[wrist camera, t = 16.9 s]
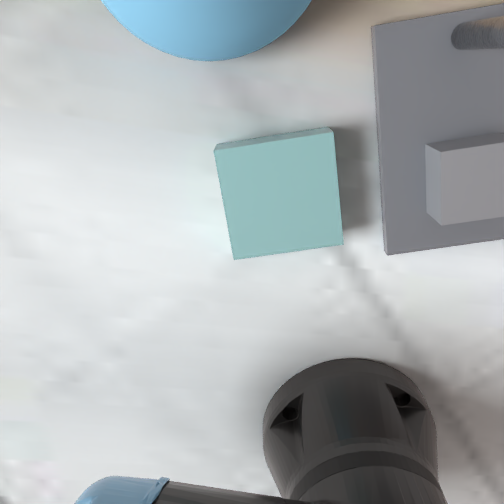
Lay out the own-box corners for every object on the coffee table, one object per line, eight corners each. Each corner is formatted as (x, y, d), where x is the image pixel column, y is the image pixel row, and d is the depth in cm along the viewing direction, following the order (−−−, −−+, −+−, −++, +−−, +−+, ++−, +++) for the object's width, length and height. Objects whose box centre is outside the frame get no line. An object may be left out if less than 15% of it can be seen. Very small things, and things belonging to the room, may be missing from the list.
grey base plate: (528, 229, 36) (559, 249, 33) (384, 250, 37) (398, 271, 33) (543, -4, 30) (583, -12, 27) (371, 26, 31) (386, 22, 27)
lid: (337, 230, 37) (343, 244, 34) (235, 245, 37) (233, 259, 35) (327, 126, 34) (333, 132, 31) (217, 143, 35) (213, 150, 32)
